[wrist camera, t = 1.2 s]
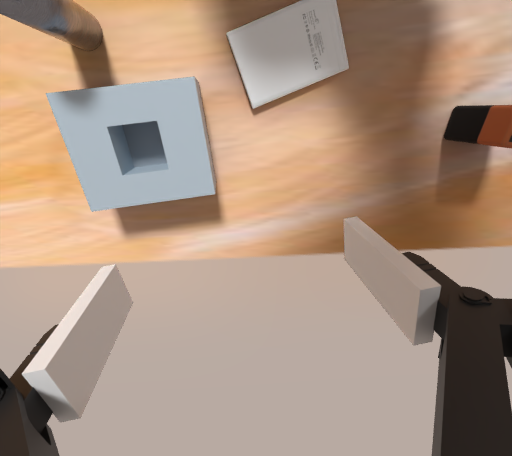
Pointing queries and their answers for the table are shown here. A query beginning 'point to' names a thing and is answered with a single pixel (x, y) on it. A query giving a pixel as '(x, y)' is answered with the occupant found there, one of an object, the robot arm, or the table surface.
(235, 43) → the external hard drive
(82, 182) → the socket block
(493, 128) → the battery
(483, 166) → the table surface
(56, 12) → the pin
